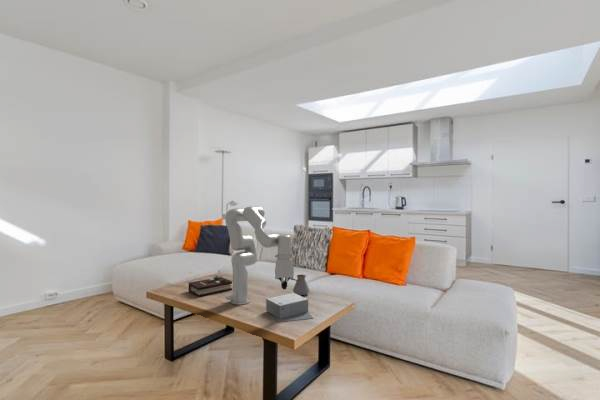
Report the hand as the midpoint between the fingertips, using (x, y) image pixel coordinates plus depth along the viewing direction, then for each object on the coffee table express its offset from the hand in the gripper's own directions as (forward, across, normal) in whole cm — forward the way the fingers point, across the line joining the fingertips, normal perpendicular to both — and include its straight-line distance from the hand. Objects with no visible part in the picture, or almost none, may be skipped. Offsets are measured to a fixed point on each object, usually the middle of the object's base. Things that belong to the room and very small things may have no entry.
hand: (284, 288), depth 177 cm
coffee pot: (+15, +16, +32) cm, 39 cm away
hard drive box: (+11, -7, +1) cm, 13 cm away
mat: (+15, +4, 0) cm, 16 cm away
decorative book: (+16, -41, +59) cm, 74 cm away
